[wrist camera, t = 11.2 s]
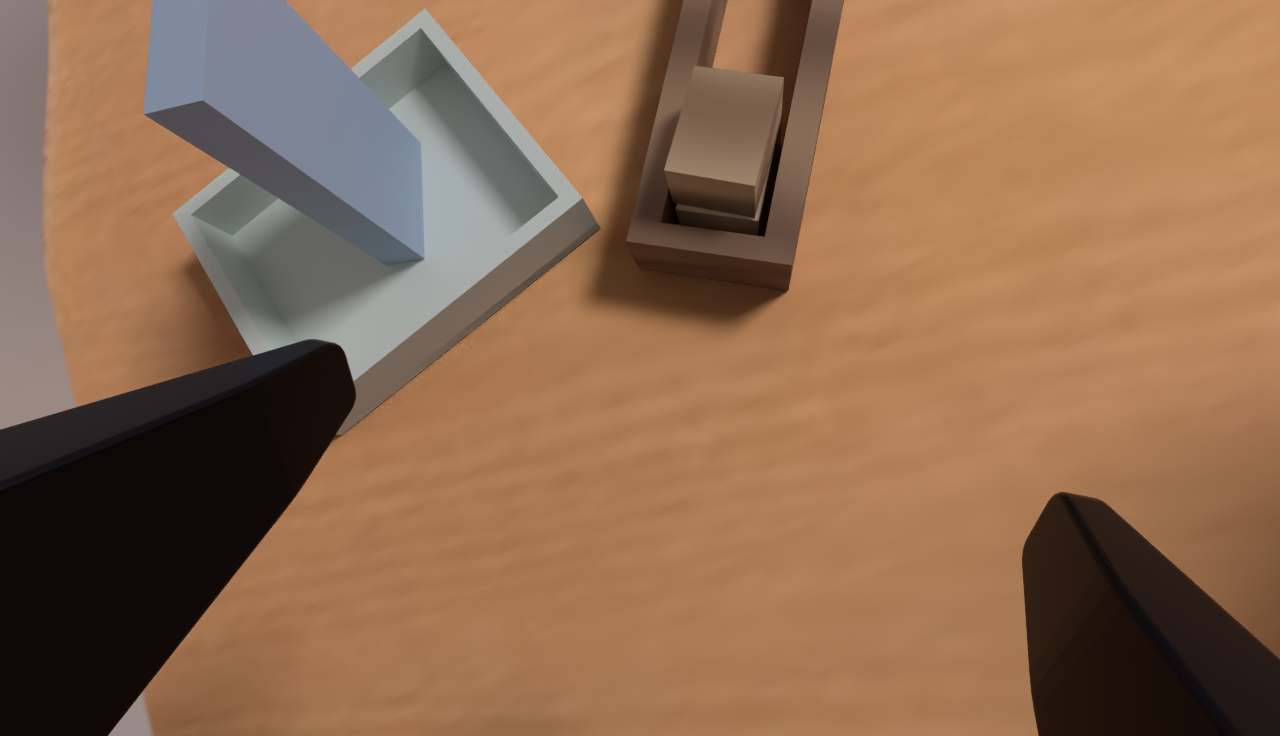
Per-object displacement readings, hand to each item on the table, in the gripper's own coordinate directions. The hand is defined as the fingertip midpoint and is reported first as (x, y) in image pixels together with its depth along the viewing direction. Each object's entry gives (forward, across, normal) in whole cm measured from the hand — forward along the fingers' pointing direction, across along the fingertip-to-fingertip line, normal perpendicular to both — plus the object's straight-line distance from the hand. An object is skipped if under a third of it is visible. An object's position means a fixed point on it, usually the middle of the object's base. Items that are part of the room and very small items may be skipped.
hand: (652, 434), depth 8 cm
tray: (+14, +14, +5) cm, 21 cm away
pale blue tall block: (+15, +14, +4) cm, 21 cm away
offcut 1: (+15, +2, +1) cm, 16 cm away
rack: (+20, +2, -1) cm, 20 cm away
